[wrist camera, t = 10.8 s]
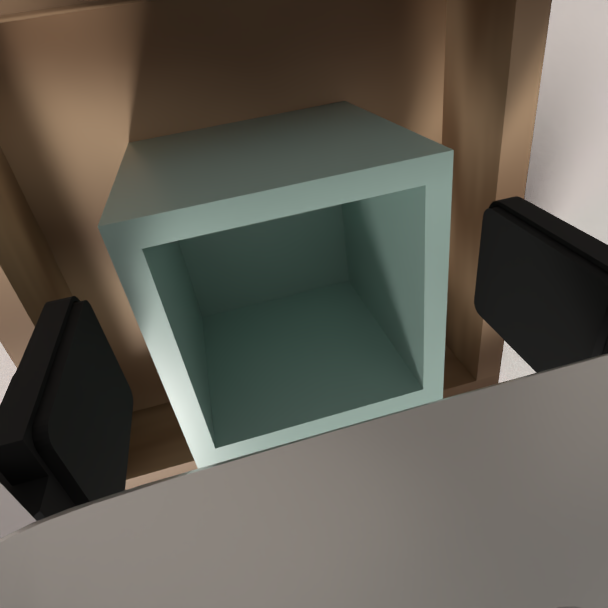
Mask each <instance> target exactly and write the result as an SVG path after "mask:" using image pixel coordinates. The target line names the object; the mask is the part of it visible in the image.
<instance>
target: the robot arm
mask: <svg viewBox="0 0 608 608" xmlns="http://www.w3.org/2000/svg"><path fill="white" fill-rule="evenodd" d="M474 306H475V309H476V311H477V313H478V314H479V315H480V316H481V317H482V318H483V319H484V320H485V321H486V322H487V323H488V324H489V325H490V326H491V327H492V328H493V329H494V330H495V331H496V332H497V333H498V334H499V335H500V336H501V337H502V338H503V339H504V340H505V341H506V342H507V343H508V344H509V345H510V346H511V347H512V348H513V349H514V350H515V351H516V352H517V353H518V354H519V355H520V356H521V357H522V358H523V359H524V360H525V361H526V362H527V363H528V364H529V365H530V366H531V367H532V368H533V369H534V370H535V371H536V372H537V373H534V374H531V375H527V376H523V377H520V378H516V379H513V380H509V381H505V382H502V383H498V384H494V385H491V386H487V387H483V388H480V389H476V390H473V391H469V392H466V393H462V394H458V395H455V396H451V397H448V398H444V399H441V400H437V401H434V402H430V403H426V404H423V405H419V406H416V407H412V408H409V409H405V410H402V411H398V412H394V413H391V414H387V415H384V416H380V417H377V418H373V419H370V420H366V421H363V422H359V423H355V424H352V425H348V426H345V427H341V428H338V429H334V430H331V431H327V432H324V433H320V434H317V435H313V436H310V437H306V438H303V439H300V440H296V441H293V442H289V443H286V444H282V445H279V446H275V447H272V448H268V449H265V450H261V451H258V452H254V453H251V454H247V455H244V456H240V457H237V458H233V459H230V460H226V461H223V462H220V463H216V464H213V465H209V466H206V467H202V468H199V469H195V470H192V471H188V472H185V473H181V474H178V475H174V476H171V477H167V478H164V479H160V480H157V481H153V482H150V483H147V484H143V485H140V486H137V487H134V488H131V489H128V490H125V486H126V475H127V465H128V454H129V444H130V434H131V423H132V413H133V395H132V391H131V389H130V386H129V384H128V382H127V380H126V378H125V376H124V374H123V371H122V369H121V367H120V365H119V363H118V361H117V359H116V357H115V355H114V353H113V350H112V348H111V346H110V344H109V342H108V340H107V338H106V336H105V334H104V332H103V329H102V327H101V325H100V323H99V321H98V319H97V317H96V315H95V313H94V311H93V308H92V306H91V305H90V303H89V302H88V301H87V300H84V301H80V300H79V299H78V298H77V297H76V296H71V297H67V298H62V299H58V300H54V301H49V302H46V303H45V305H44V307H43V309H42V312H41V314H40V317H39V319H38V321H37V324H36V326H35V328H34V331H33V333H32V335H31V338H30V340H29V342H28V345H27V347H26V349H25V352H24V354H23V357H22V359H21V361H20V364H19V366H18V368H17V371H16V373H15V374H14V376H13V377H12V379H11V382H10V384H9V386H8V389H7V391H6V393H5V396H4V398H3V400H2V403H1V405H0V608H608V245H607V244H605V243H603V242H601V241H599V240H597V239H596V238H594V237H592V236H590V235H588V234H586V233H585V232H583V231H581V230H579V229H577V228H576V227H574V226H572V225H570V224H568V223H566V222H565V221H563V220H561V219H559V218H557V217H555V216H554V215H552V214H550V213H548V212H546V211H544V210H543V209H541V208H539V207H537V206H535V205H533V204H532V203H530V202H528V201H526V200H524V199H523V198H521V197H518V196H515V197H510V198H506V199H501V200H497V201H493V202H492V203H491V204H490V206H489V208H488V209H486V210H485V211H484V214H483V220H482V229H481V239H480V248H479V258H478V267H477V276H476V286H475V295H474Z"/></svg>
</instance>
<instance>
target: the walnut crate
mask: <svg viewBox="0 0 608 608" xmlns="http://www.w3.org/2000/svg"><path fill="white" fill-rule="evenodd" d="M551 2H552V0H0V342H1V343H2V345H3V346H4V348H5V350H6V351H7V353H8V354H9V356H10V358H11V359H12V361H13V362H14V364H15V365H16V367H17V368H18V366H19V364H20V361H21V359H22V357H23V354H24V352H25V349H26V347H27V345H28V342H29V340H30V338H31V335H32V333H33V331H34V328H35V326H36V324H37V321H38V319H39V317H40V314H41V312H42V309H43V307H44V305H45V303H46V302H49V301H54V300H58V299H62V298H67V297H71V296H76V297H77V298H78V299H79V300H80V301H84V300H87V301H88V302H89V303H90V305H91V306H92V308H93V311H94V313H95V315H96V317H97V319H98V321H99V323H100V325H101V327H102V329H103V332H104V334H105V336H106V338H107V340H108V342H109V344H110V346H111V348H112V350H113V353H114V355H115V357H116V359H117V361H118V363H119V365H120V367H121V369H122V371H123V374H124V376H125V378H126V380H127V382H128V384H129V386H130V389H131V391H132V395H133V413H132V423H131V434H130V444H129V454H128V465H127V475H126V486H125V490H128V489H131V488H134V487H137V486H140V485H143V484H147V483H150V482H153V481H157V480H160V479H164V478H167V477H171V476H174V475H178V474H181V473H185V472H188V471H192V470H195V469H198V468H197V465H196V463H195V460H194V458H193V456H192V453H191V451H190V448H189V446H188V444H187V441H186V439H185V436H184V434H183V432H182V429H181V427H180V424H179V422H178V419H177V417H176V415H175V412H174V410H173V407H172V405H171V403H170V400H169V398H168V395H167V393H166V391H165V388H164V386H163V383H162V381H161V379H160V376H159V374H158V371H157V369H156V366H155V364H154V362H153V359H152V357H151V354H150V352H149V350H148V347H147V345H146V342H145V340H144V338H143V335H142V333H141V330H140V328H139V325H138V323H137V321H136V318H135V316H134V313H133V311H132V309H131V306H130V304H129V301H128V299H127V297H126V294H125V292H124V289H123V287H122V285H121V282H120V280H119V277H118V275H117V272H116V270H115V268H114V265H113V263H112V260H111V258H110V256H109V253H108V251H107V248H106V246H105V244H104V241H103V239H102V236H101V234H100V232H99V229H98V224H99V221H100V218H101V216H102V213H103V210H104V208H105V205H106V202H107V200H108V197H109V194H110V191H111V189H112V186H113V183H114V181H115V178H116V175H117V173H118V170H119V167H120V164H121V162H122V159H123V156H124V154H125V151H126V148H127V145H128V143H130V142H135V141H140V140H145V139H150V138H155V137H161V136H166V135H171V134H176V133H181V132H186V131H192V130H197V129H202V128H207V127H212V126H217V125H222V124H228V123H233V122H238V121H243V120H248V119H253V118H259V117H264V116H269V115H274V114H279V113H284V112H290V111H295V110H300V109H305V108H310V107H315V106H321V105H326V104H331V103H336V102H341V101H347V102H349V103H351V104H353V105H355V106H358V107H360V108H362V109H364V110H366V111H369V112H371V113H373V114H375V115H378V116H380V117H382V118H384V119H386V120H389V121H391V122H393V123H395V124H397V125H400V126H402V127H404V128H406V129H408V130H411V131H413V132H415V133H417V134H420V135H422V136H424V137H426V138H428V139H431V140H433V141H435V142H437V143H439V144H442V145H444V146H446V147H448V148H451V149H453V150H454V156H453V179H452V201H451V224H450V247H449V269H448V292H447V315H446V337H445V360H444V383H443V399H444V398H448V397H451V396H455V395H458V394H462V393H466V392H469V391H473V390H476V389H480V388H483V387H487V386H491V385H494V384H498V380H499V373H500V366H501V359H502V352H503V345H504V339H503V338H502V337H501V336H500V335H499V334H498V333H497V332H496V331H495V330H494V329H493V328H492V327H491V326H490V325H489V324H488V323H487V322H486V321H485V320H484V319H483V318H482V317H481V316H480V315H479V314H478V313H477V311H476V309H475V306H474V295H475V286H476V276H477V267H478V258H479V248H480V239H481V229H482V220H483V214H484V211H485V210H486V209H488V208H489V206H490V204H491V203H492V202H493V201H497V200H501V199H506V198H510V197H515V196H518V197H521V198H523V199H524V195H525V188H526V181H527V173H528V166H529V159H530V152H531V145H532V138H533V131H534V124H535V116H536V109H537V102H538V95H539V88H540V81H541V74H542V66H543V59H544V52H545V45H546V38H547V31H548V24H549V16H550V9H551Z"/></svg>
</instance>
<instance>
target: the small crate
mask: <svg viewBox="0 0 608 608" xmlns="http://www.w3.org/2000/svg"><path fill="white" fill-rule="evenodd" d="M453 156H454V150H453V149H451V148H448V147H446V146H444V145H442V144H439V143H437V142H435V141H433V140H431V139H428V138H426V137H424V136H422V135H420V134H417V133H415V132H413V131H411V130H408V129H406V128H404V127H402V126H400V125H397V124H395V123H393V122H391V121H389V120H386V119H384V118H382V117H380V116H378V115H375V114H373V113H371V112H369V111H366V110H364V109H362V108H360V107H358V106H355V105H353V104H351V103H349V102H347V101H341V102H336V103H331V104H326V105H321V106H315V107H310V108H305V109H300V110H295V111H290V112H284V113H279V114H274V115H269V116H264V117H259V118H253V119H248V120H243V121H238V122H233V123H228V124H222V125H217V126H212V127H207V128H202V129H197V130H192V131H186V132H181V133H176V134H171V135H166V136H161V137H155V138H150V139H145V140H140V141H135V142H130V143H128V145H127V148H126V151H125V154H124V156H123V159H122V162H121V164H120V167H119V170H118V173H117V175H116V178H115V181H114V183H113V186H112V189H111V191H110V194H109V197H108V200H107V202H106V205H105V208H104V210H103V213H102V216H101V218H100V221H99V224H98V229H99V232H100V234H101V236H102V239H103V241H104V244H105V246H106V248H107V251H108V253H109V256H110V258H111V260H112V263H113V265H114V268H115V270H116V272H117V275H118V277H119V280H120V282H121V285H122V287H123V289H124V292H125V294H126V297H127V299H128V301H129V304H130V306H131V309H132V311H133V313H134V316H135V318H136V321H137V323H138V325H139V328H140V330H141V333H142V335H143V338H144V340H145V342H146V345H147V347H148V350H149V352H150V354H151V357H152V359H153V362H154V364H155V366H156V369H157V371H158V374H159V376H160V379H161V381H162V383H163V386H164V388H165V391H166V393H167V395H168V398H169V400H170V403H171V405H172V407H173V410H174V412H175V415H176V417H177V419H178V422H179V424H180V427H181V429H182V432H183V434H184V436H185V439H186V441H187V444H188V446H189V448H190V451H191V453H192V456H193V458H194V460H195V463H196V465H197V468H198V469H199V468H202V467H206V466H209V465H213V464H216V463H220V462H223V461H226V460H230V459H233V458H237V457H240V456H244V455H247V454H251V453H254V452H258V451H261V450H265V449H268V448H272V447H275V446H279V445H282V444H286V443H289V442H293V441H296V440H300V439H303V438H306V437H310V436H313V435H317V434H320V433H324V432H327V431H331V430H334V429H338V428H341V427H345V426H348V425H352V424H355V423H359V422H363V421H366V420H370V419H373V418H377V417H380V416H384V415H387V414H391V413H394V412H398V411H402V410H405V409H409V408H412V407H416V406H419V405H423V404H426V403H430V402H434V401H437V400H441V399H443V383H444V360H445V337H446V315H447V292H448V269H449V247H450V224H451V201H452V179H453Z"/></svg>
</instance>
